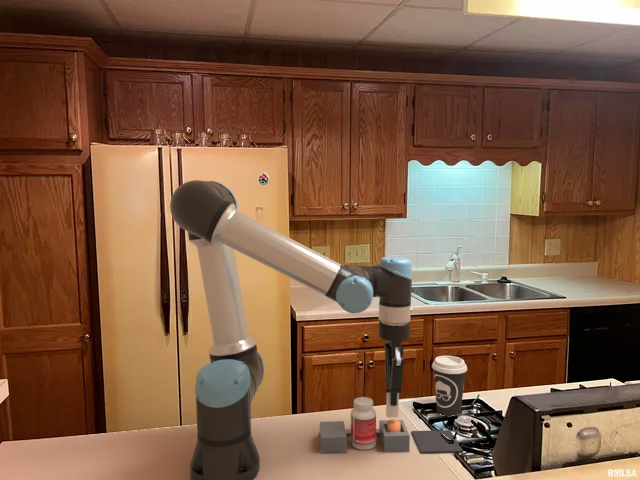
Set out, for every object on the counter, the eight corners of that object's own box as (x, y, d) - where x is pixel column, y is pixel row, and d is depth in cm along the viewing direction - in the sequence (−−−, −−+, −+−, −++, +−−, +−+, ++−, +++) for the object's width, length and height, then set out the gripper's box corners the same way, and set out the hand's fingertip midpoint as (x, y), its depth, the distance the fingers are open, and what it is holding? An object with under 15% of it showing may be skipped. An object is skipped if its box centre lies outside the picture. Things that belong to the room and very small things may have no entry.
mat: (420, 453, 113) (420, 451, 113) (411, 432, 123) (411, 430, 123) (462, 452, 113) (462, 450, 113) (450, 431, 123) (450, 430, 123)
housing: (321, 453, 113) (321, 437, 113) (319, 433, 123) (319, 418, 123) (409, 451, 114) (409, 435, 113) (400, 431, 124) (401, 416, 123)
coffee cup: (470, 420, 129) (472, 366, 128) (435, 420, 130) (436, 366, 128) (461, 405, 139) (462, 354, 138) (428, 404, 139) (428, 354, 138)
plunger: (388, 445, 116) (388, 425, 116) (386, 438, 119) (386, 419, 119) (401, 445, 116) (401, 425, 116) (398, 438, 119) (399, 419, 119)
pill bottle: (381, 446, 117) (381, 402, 116) (361, 453, 113) (361, 408, 112) (365, 435, 122) (365, 393, 121) (345, 442, 118) (345, 399, 117)
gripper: (416, 329, 108) (413, 429, 111) (404, 314, 121) (401, 404, 124) (383, 329, 108) (381, 429, 110) (374, 314, 121) (373, 404, 123)
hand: (392, 416), depth 117 cm, fingers closed
